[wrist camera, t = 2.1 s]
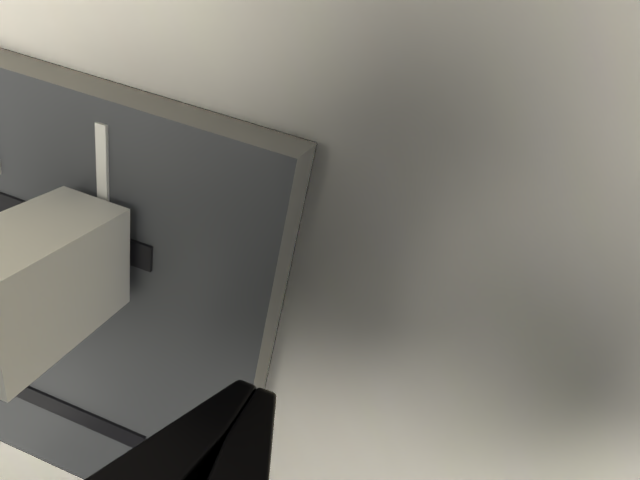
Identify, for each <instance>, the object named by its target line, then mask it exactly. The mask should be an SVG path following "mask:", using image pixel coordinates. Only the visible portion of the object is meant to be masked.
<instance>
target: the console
mask: <svg viewBox="0 0 640 480" xmlns="http://www.w3.org/2000/svg"><path fill="white" fill-rule="evenodd" d="M316 145H317V143H315V142H312V141H308V140H305V139H302V138H298V137H295V136H292V135H288V134H285V133H282V132H278V131H275V130H272V129H268V128H265V127H262V126H258V125H255V124H252V123H248V122H245V121H242V120H238V119H235V118H232V117H228V116H225V115H222V114H218V113H215V112H212V111H208V110H205V109H202V108H198V107H195V106H192V105H188V104H185V103H182V102H178V101H175V100H172V99H168V98H165V97H162V96H158V95H155V94H152V93H148V92H145V91H142V90H138V89H135V88H132V87H128V86H125V85H122V84H118V83H115V82H112V81H108V80H105V79H102V78H98V77H95V76H92V75H88V74H85V73H82V72H78V71H75V70H72V69H68V68H65V67H62V66H58V65H55V64H52V63H48V62H45V61H42V60H38V59H35V58H32V57H28V56H25V55H22V54H18V53H15V52H12V51H8V50H5V49H2V48H0V212H1V211H4V210H6V209H9V208H11V207H13V206H16V205H18V204H21V203H23V202H26V201H28V200H31V199H33V198H35V197H38V196H40V195H43V194H45V193H48V192H50V191H52V190H55V189H57V188H60V187H62V186H65V187H68V188H71V189H74V190H77V191H80V192H83V193H85V194H88V195H91V196H94V197H97V198H100V199H103V200H106V201H109V202H111V203H114V204H117V205H120V206H123V207H126V208H129V209H130V302H128V303H127V304H126V305H125V306H124V307H122V308H121V309H120V310H119V311H118V312H116V313H115V314H114V315H113V316H112V317H110V318H109V319H108V320H107V321H106V322H104V323H103V324H102V325H101V326H100V327H98V328H97V329H96V330H95V331H94V332H92V333H91V334H90V335H89V336H88V337H86V338H85V339H84V340H83V341H82V342H80V343H79V344H78V345H77V346H76V347H74V348H73V349H72V350H71V351H70V352H68V353H67V354H66V355H65V356H64V357H62V358H61V359H60V360H59V361H58V362H56V363H55V364H54V365H53V366H51V367H50V368H49V369H48V370H47V371H45V372H44V373H43V374H42V375H41V376H39V377H38V378H37V379H36V380H35V381H33V382H32V383H31V384H30V385H29V386H27V387H26V388H25V389H24V390H23V391H21V392H20V393H19V394H18V395H17V396H15V397H14V398H13V399H12V400H11V401H9V402H8V403H7V402H4V401H2V400H0V441H2V442H4V443H6V444H8V445H10V446H12V447H15V448H17V449H19V450H21V451H23V452H25V453H28V454H30V455H32V456H34V457H36V458H38V459H41V460H43V461H45V462H47V463H49V464H51V465H54V466H56V467H58V468H60V469H62V470H65V471H67V472H69V473H71V474H73V475H75V476H78V477H80V478H82V479H86V478H87V477H89V476H90V475H92V474H94V473H95V472H97V471H98V470H100V469H101V468H103V467H104V466H106V465H107V464H109V463H110V462H112V461H113V460H115V459H117V458H118V457H120V456H121V455H123V454H124V453H126V452H127V451H129V450H130V449H132V448H133V447H135V446H137V445H138V444H140V443H141V442H143V441H144V440H146V439H147V438H149V437H150V436H152V435H153V434H155V433H156V432H158V431H160V430H161V429H163V428H164V427H166V426H167V425H169V424H170V423H172V422H173V421H175V420H176V419H178V418H180V417H181V416H183V415H184V414H186V413H187V412H189V411H190V410H192V409H193V408H195V407H196V406H198V405H199V404H201V403H203V402H204V401H206V400H207V399H209V398H210V397H212V396H213V395H215V394H216V393H218V392H219V391H221V390H223V389H224V388H226V387H227V386H229V385H230V384H232V383H233V382H235V381H237V380H243V381H246V382H248V383H251V384H253V385H255V386H256V387H257V388H259V387H260V388H263V389H265V385H266V380H267V375H268V371H269V366H270V361H271V356H272V352H273V347H274V342H275V338H276V333H277V328H278V324H279V319H280V314H281V309H282V305H283V300H284V295H285V291H286V286H287V281H288V277H289V272H290V267H291V262H292V258H293V253H294V248H295V244H296V239H297V234H298V230H299V225H300V220H301V215H302V211H303V206H304V201H305V197H306V192H307V187H308V183H309V178H310V173H311V168H312V164H313V159H314V154H315V150H316Z"/></svg>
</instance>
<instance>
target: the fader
mask: <svg viewBox="0 0 640 480" xmlns="http://www.w3.org/2000/svg"><path fill="white" fill-rule="evenodd" d="M128 302H130V209H129V208H126V207H123V206H120V205H117V204H114V203H111V202H109V201H106V200H103V199H100V198H97V197H94V196H91V195H88V194H85V193H83V192H80V191H77V190H74V189H71V188H68V187H65V186H62V187H60V188H57V189H55V190H52V191H50V192H48V193H45V194H43V195H40V196H38V197H35V198H33V199H31V200H28V201H26V202H23V203H21V204H18V205H16V206H13V207H11V208H9V209H6V210H4V211H1V212H0V400H2V401H4V402H7V403H8V402H9V401H11V400H12V399H13V398H14V397H15V396H17V395H18V394H19V393H20V392H21V391H23V390H24V389H25V388H26V387H27V386H29V385H30V384H31V383H32V382H33V381H35V380H36V379H37V378H38V377H39V376H41V375H42V374H43V373H44V372H45V371H47V370H48V369H49V368H50V367H51V366H53V365H54V364H55V363H56V362H58V361H59V360H60V359H61V358H62V357H64V356H65V355H66V354H67V353H68V352H70V351H71V350H72V349H73V348H74V347H76V346H77V345H78V344H79V343H80V342H82V341H83V340H84V339H85V338H86V337H88V336H89V335H90V334H91V333H92V332H94V331H95V330H96V329H97V328H98V327H100V326H101V325H102V324H103V323H104V322H106V321H107V320H108V319H109V318H110V317H112V316H113V315H114V314H115V313H116V312H118V311H119V310H120V309H121V308H122V307H124V306H125V305H126V304H127V303H128Z"/></svg>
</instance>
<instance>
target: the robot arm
mask: <svg viewBox="0 0 640 480" xmlns="http://www.w3.org/2000/svg"><path fill="white" fill-rule="evenodd" d="M275 404H276V394H275V393H274V392H271V391H268V390H266V389H263V388H260V387H259V388H257V387H256V386H255V385H253V384H251V383H248V382H246V381H243V380H237V381H235V382H233V383H232V384H230V385H229V386H227V387H226V388H224V389H223V390H221V391H219V392H218V393H216V394H215V395H213V396H212V397H210V398H209V399H207V400H206V401H204V402H203V403H201V404H199V405H198V406H196V407H195V408H193V409H192V410H190V411H189V412H187V413H186V414H184V415H183V416H181V417H180V418H178V419H176V420H175V421H173V422H172V423H170V424H169V425H167V426H166V427H164V428H163V429H161V430H160V431H158V432H156V433H155V434H153V435H152V436H150V437H149V438H147V439H146V440H144V441H143V442H141V443H140V444H138V445H137V446H135V447H133V448H132V449H130V450H129V451H127V452H126V453H124V454H123V455H121V456H120V457H118V458H117V459H115V460H113V461H112V462H110V463H109V464H107V465H106V466H104V467H103V468H101V469H100V470H98V471H97V472H95V473H94V474H92V475H90V476H89V477H87V478H86V479H84V480H269V473H270V462H271V450H272V439H273V427H274V416H275Z"/></svg>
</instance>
